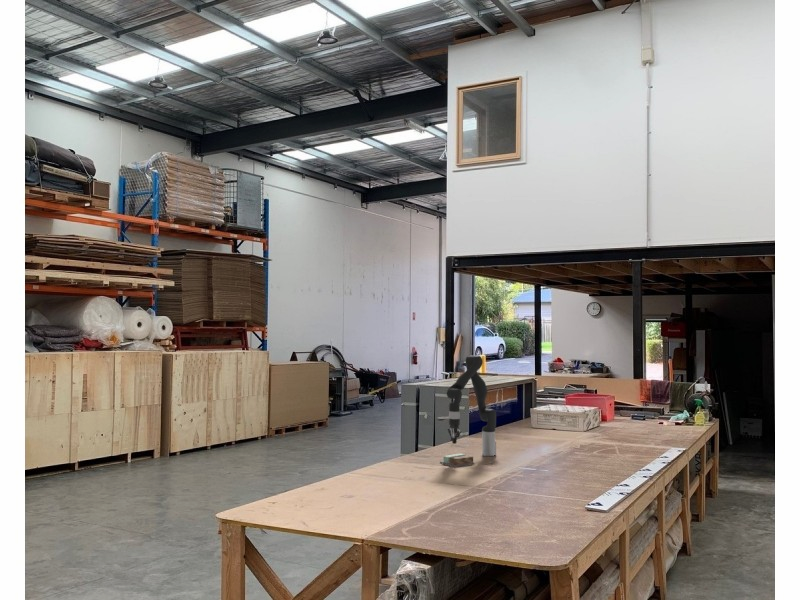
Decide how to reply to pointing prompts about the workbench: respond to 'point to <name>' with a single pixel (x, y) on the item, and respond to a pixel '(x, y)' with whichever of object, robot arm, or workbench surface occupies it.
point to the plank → (447, 458)
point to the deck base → (455, 465)
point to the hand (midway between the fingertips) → (454, 443)
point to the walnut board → (461, 460)
